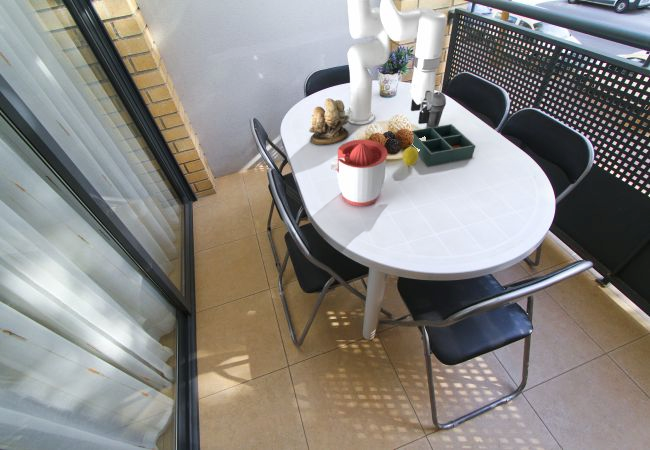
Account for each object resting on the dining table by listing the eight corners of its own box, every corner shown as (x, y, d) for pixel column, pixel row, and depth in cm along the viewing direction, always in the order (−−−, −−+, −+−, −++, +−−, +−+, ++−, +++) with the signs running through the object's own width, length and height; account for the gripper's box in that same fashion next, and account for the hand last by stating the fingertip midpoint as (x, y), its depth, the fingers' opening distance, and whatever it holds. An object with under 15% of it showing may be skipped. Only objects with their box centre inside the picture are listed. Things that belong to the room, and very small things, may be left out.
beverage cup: (439, 124, 138) (448, 77, 124) (441, 133, 133) (452, 84, 119) (422, 125, 139) (429, 78, 125) (424, 133, 134) (432, 85, 120)
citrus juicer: (332, 182, 114) (330, 131, 100) (381, 181, 113) (385, 129, 98) (332, 211, 103) (329, 159, 89) (386, 210, 101) (391, 156, 87)
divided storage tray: (428, 166, 117) (430, 154, 113) (408, 142, 130) (410, 131, 126) (471, 158, 119) (475, 145, 115) (448, 135, 132) (451, 123, 128)
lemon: (407, 171, 115) (410, 153, 110) (398, 164, 119) (400, 146, 113) (419, 167, 117) (423, 148, 111) (410, 160, 121) (413, 141, 115)
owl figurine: (342, 126, 143) (341, 88, 131) (355, 137, 135) (355, 98, 123) (306, 136, 138) (301, 98, 126) (317, 149, 131) (313, 109, 119)
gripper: (407, 54, 101) (402, 107, 113) (422, 73, 89) (414, 129, 100) (430, 52, 101) (423, 105, 113) (449, 70, 88) (438, 127, 100)
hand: (419, 116), depth 107 cm, fingers open, 9 cm apart
